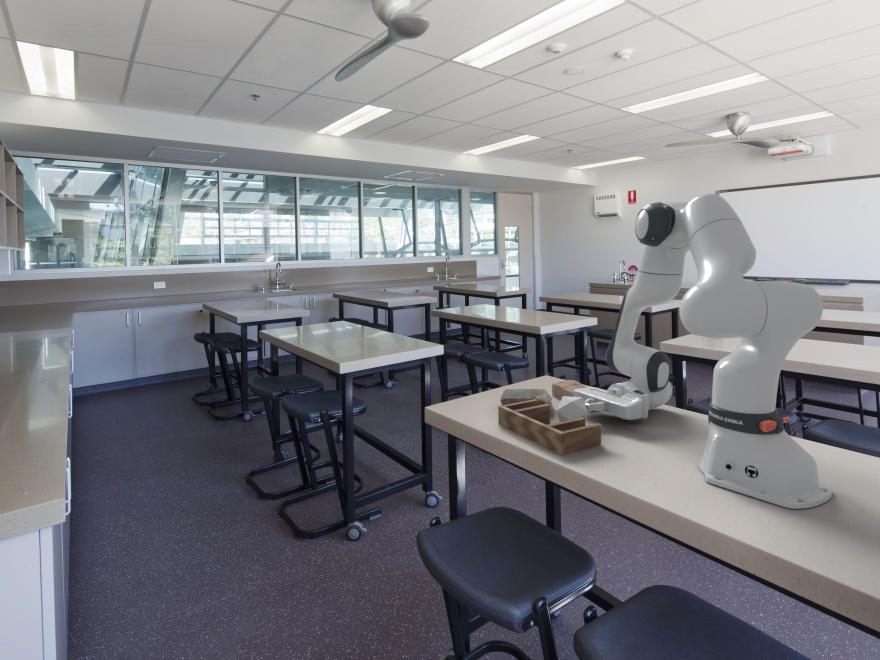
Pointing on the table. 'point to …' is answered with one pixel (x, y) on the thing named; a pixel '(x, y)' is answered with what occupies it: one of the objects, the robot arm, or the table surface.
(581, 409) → the die
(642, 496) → the table surface
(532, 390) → the geological specimen
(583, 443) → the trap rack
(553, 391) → the brick
